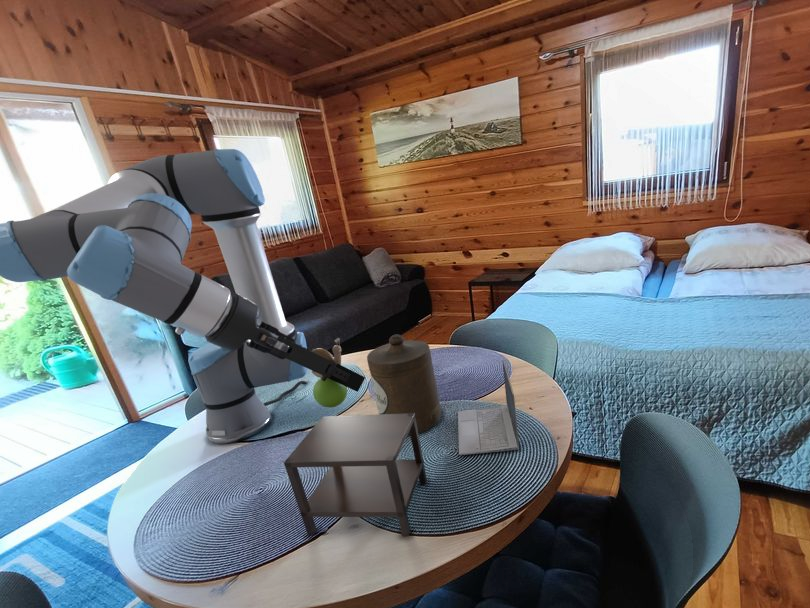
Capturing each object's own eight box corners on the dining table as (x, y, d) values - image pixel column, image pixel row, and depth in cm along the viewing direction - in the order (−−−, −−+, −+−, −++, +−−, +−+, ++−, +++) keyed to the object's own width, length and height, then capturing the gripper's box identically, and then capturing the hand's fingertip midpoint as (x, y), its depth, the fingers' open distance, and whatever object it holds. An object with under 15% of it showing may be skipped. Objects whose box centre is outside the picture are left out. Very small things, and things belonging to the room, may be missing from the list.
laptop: (458, 413, 106) (451, 365, 101) (508, 407, 106) (504, 358, 101) (459, 457, 89) (450, 402, 84) (519, 450, 89) (514, 394, 84)
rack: (340, 481, 86) (322, 416, 81) (427, 480, 84) (414, 412, 78) (307, 535, 74) (283, 462, 68) (409, 536, 71) (392, 460, 65)
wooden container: (385, 408, 113) (368, 329, 105) (441, 401, 113) (429, 321, 105) (377, 439, 99) (357, 351, 91) (441, 431, 99) (426, 343, 91)
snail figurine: (346, 413, 70) (330, 345, 65) (311, 413, 71) (292, 346, 67) (360, 397, 75) (346, 332, 70) (327, 397, 76) (311, 333, 72)
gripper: (189, 328, 64) (319, 386, 80) (220, 353, 51) (368, 415, 67) (216, 285, 65) (339, 350, 81) (252, 298, 53) (390, 372, 68)
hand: (352, 379), depth 74 cm, fingers closed on snail figurine, 5 cm apart
